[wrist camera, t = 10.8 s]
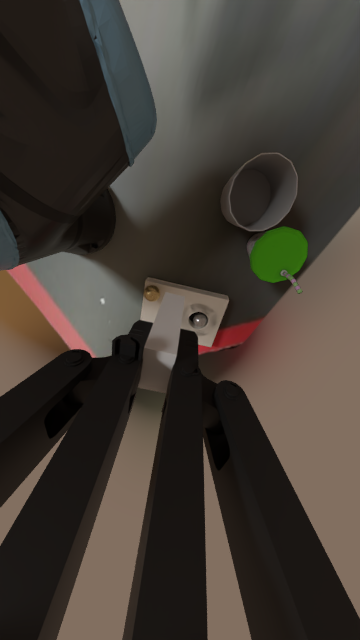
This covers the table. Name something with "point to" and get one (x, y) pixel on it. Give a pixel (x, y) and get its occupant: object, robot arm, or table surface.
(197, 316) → the steel ball
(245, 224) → the cup
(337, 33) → the table surface
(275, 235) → the cup
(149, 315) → the plate
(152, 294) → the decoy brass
